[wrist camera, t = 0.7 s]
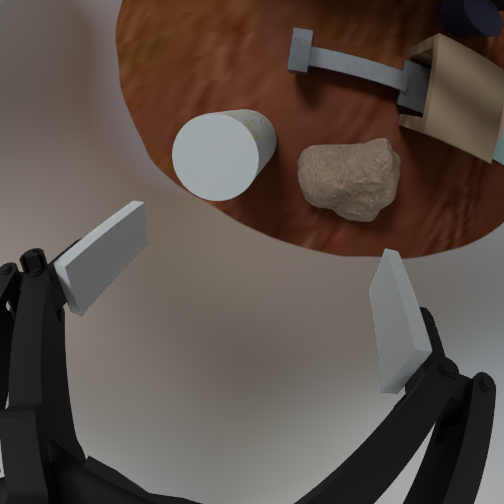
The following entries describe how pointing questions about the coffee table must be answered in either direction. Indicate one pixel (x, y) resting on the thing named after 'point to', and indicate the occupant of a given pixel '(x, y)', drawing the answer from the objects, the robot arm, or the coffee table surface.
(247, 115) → the cup
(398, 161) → the stone
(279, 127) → the coffee table surface
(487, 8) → the speaker
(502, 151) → the pad
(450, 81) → the tunnel
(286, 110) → the coffee table surface
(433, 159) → the coffee table surface
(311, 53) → the grey square dumbbell
